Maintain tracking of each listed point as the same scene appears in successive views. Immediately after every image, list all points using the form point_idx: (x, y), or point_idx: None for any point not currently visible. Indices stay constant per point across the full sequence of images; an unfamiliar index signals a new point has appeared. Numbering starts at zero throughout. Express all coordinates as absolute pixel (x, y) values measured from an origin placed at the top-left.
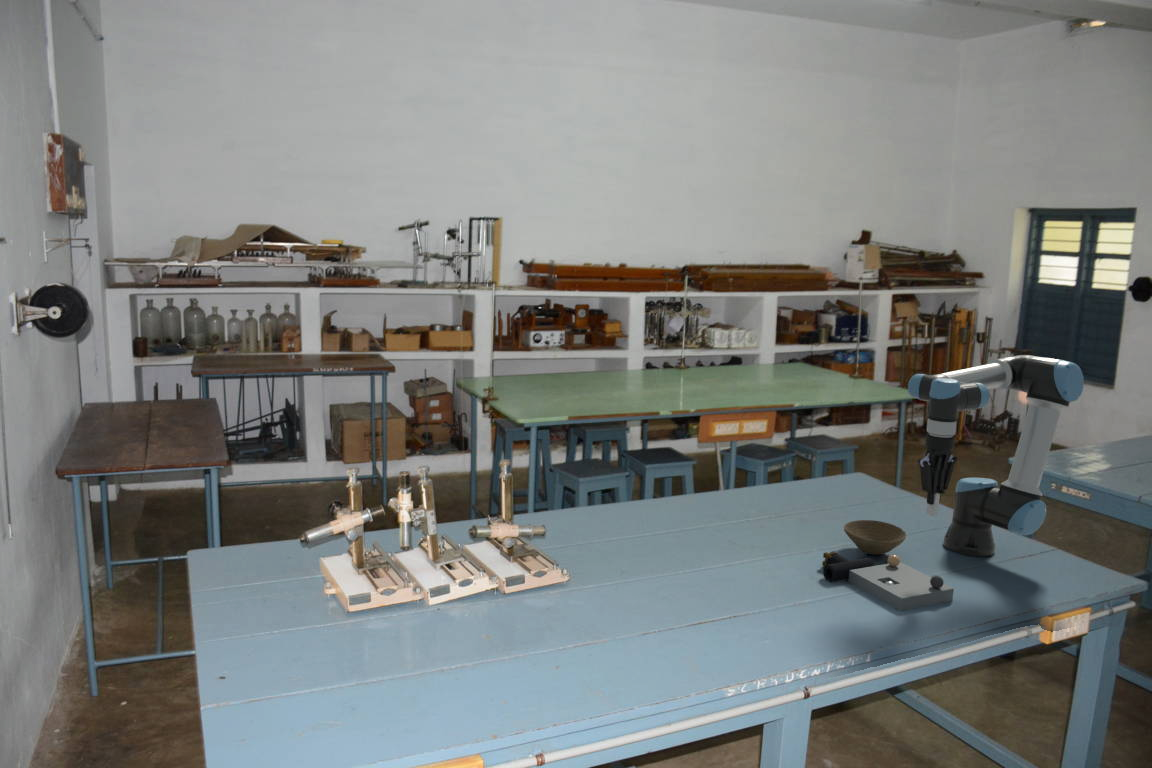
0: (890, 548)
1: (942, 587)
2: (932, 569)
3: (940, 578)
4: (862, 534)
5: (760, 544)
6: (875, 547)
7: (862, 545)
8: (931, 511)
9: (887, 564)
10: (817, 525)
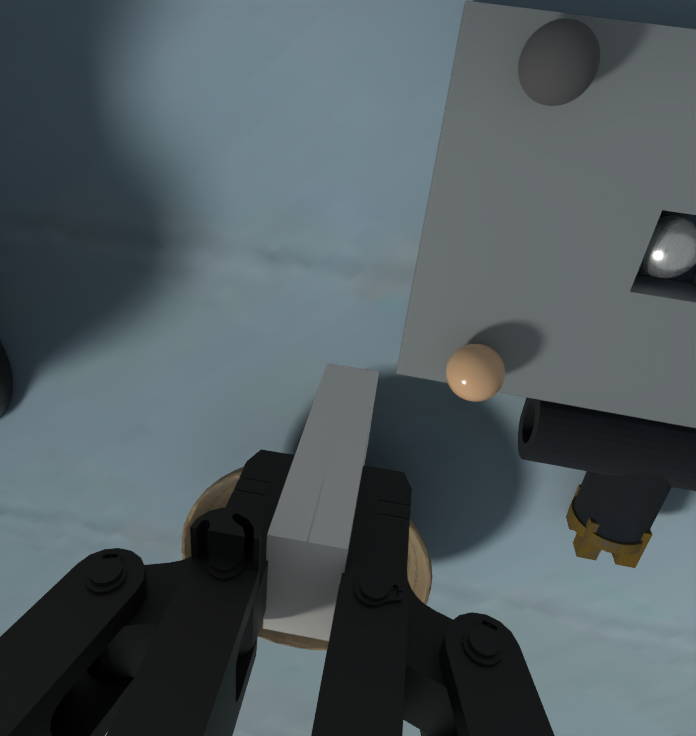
0: None
1: (510, 48)
2: (230, 299)
3: (565, 39)
4: None
5: (611, 698)
6: None
7: None
8: (370, 424)
9: None
10: (298, 679)
